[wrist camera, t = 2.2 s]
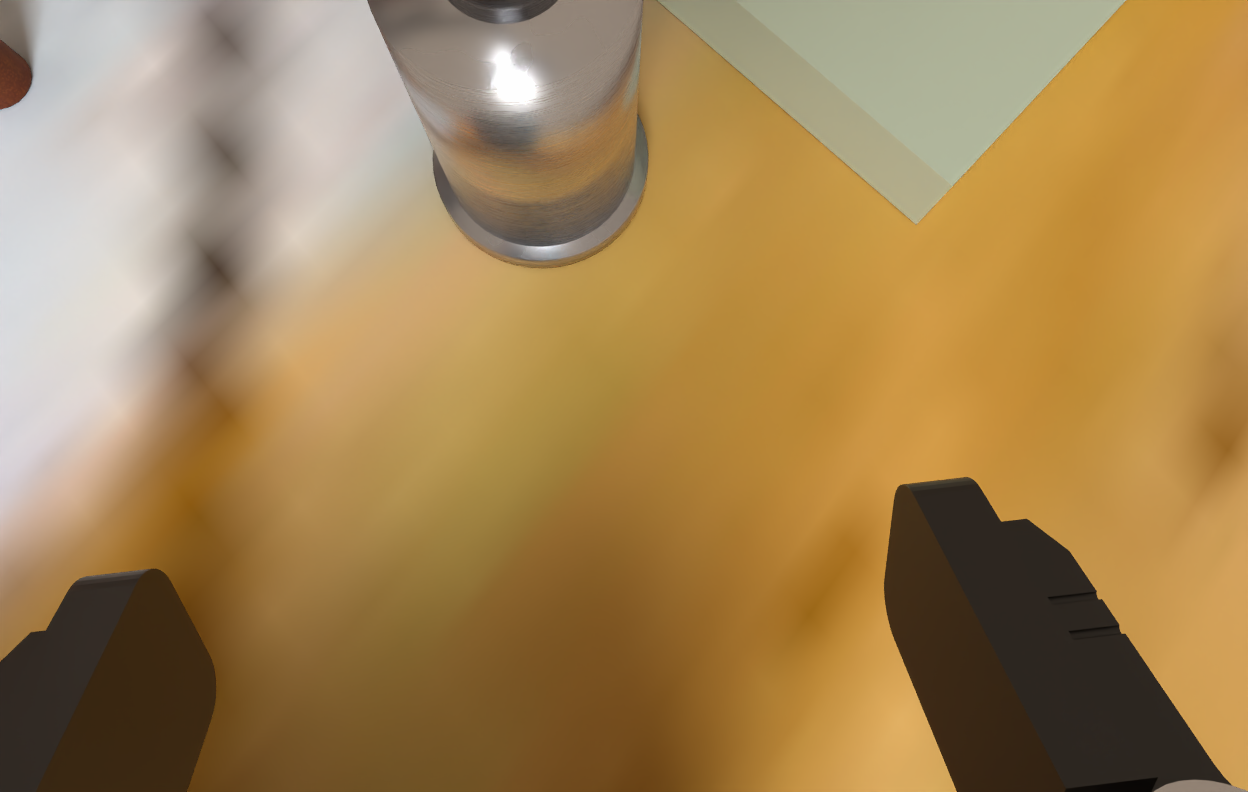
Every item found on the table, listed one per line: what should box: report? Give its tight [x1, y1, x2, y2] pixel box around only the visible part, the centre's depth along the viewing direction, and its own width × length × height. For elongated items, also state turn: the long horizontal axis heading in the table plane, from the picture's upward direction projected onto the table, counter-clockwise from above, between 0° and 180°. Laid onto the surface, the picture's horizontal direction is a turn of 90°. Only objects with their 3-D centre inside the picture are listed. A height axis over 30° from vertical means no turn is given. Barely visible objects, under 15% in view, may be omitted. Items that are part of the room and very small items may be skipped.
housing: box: [367, 0, 648, 268], centre depth 22 cm, size 6×6×11 cm
